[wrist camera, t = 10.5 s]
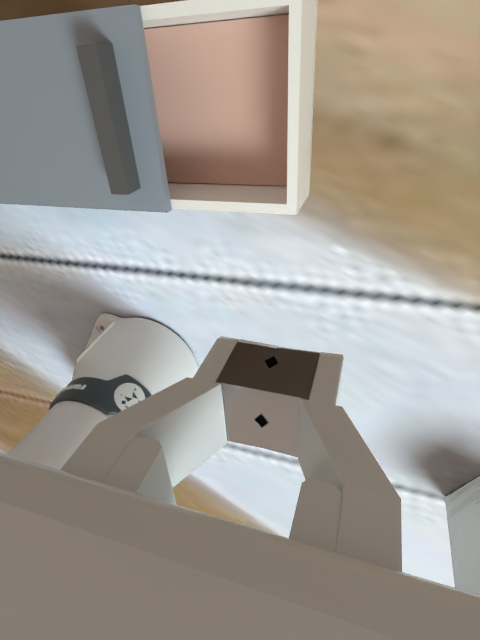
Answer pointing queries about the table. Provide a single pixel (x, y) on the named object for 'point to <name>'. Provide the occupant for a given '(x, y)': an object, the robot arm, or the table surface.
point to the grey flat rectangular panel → (80, 113)
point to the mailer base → (234, 101)
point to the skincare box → (465, 535)
